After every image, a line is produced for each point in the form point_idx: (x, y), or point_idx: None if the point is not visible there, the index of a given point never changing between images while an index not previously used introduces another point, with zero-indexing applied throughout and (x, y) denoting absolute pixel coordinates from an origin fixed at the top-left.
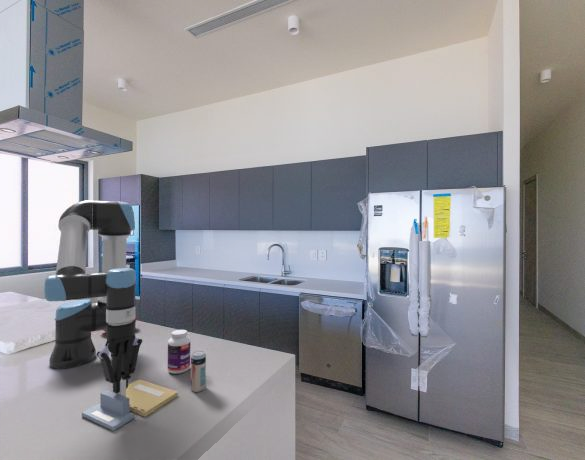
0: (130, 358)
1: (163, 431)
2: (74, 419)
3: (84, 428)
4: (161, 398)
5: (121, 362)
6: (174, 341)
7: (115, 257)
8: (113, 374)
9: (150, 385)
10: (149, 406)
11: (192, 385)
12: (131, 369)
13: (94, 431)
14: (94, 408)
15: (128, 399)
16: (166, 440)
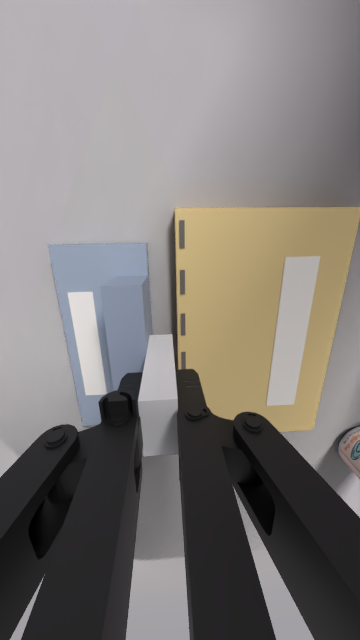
0: (333, 615)
1: (161, 501)
2: (30, 236)
3: (36, 328)
4: None
5: (189, 599)
6: None
7: None
8: (45, 563)
9: (324, 311)
10: None
11: (353, 460)
12: (243, 499)
13: (52, 370)
14: (95, 266)
15: None
16: (144, 524)
